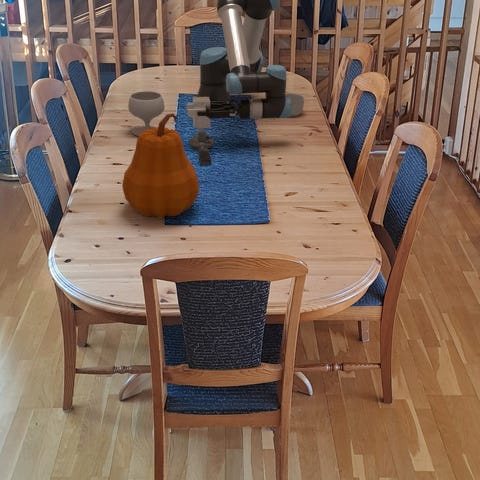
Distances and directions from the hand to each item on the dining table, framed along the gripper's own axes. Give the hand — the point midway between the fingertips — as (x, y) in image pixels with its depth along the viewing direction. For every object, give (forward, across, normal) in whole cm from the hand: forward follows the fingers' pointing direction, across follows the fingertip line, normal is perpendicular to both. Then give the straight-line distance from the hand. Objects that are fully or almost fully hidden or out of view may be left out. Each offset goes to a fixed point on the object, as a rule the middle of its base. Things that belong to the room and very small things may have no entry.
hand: (187, 110), depth 279 cm
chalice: (+15, +17, -14) cm, 27 cm away
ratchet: (-5, -7, -14) cm, 17 cm away
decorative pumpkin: (+12, -54, -15) cm, 57 cm away
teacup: (-44, +35, -14) cm, 58 cm away
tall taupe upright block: (-5, 0, -6) cm, 8 cm away
